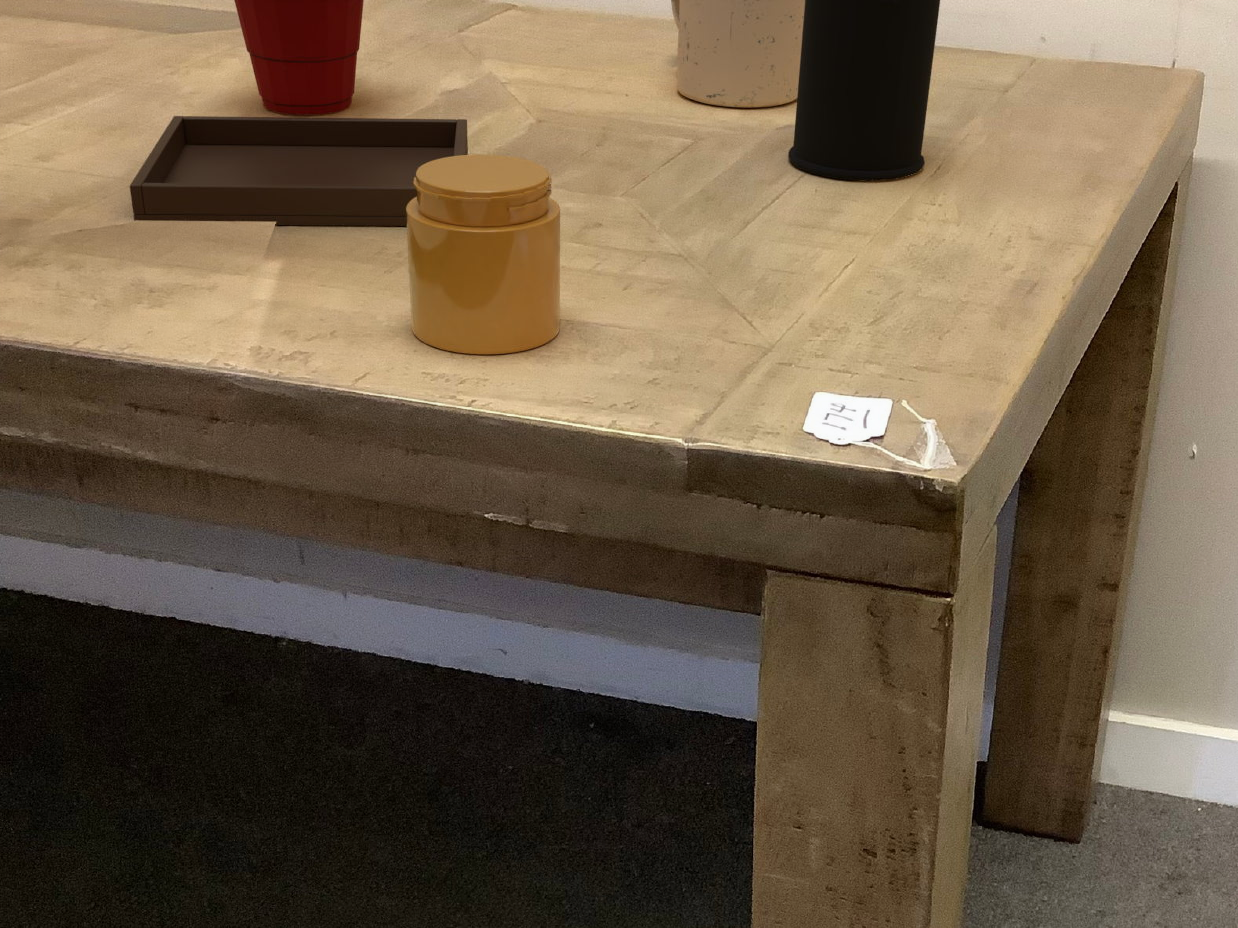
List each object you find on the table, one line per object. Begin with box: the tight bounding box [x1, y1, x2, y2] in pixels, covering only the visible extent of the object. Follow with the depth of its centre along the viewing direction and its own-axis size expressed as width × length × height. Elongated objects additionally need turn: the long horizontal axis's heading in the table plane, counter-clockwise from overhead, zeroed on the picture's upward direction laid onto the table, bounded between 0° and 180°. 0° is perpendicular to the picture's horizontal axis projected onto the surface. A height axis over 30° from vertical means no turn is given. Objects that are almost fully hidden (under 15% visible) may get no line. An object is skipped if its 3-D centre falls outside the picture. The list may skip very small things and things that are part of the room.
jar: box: [406, 153, 561, 355], centre depth 75 cm, size 7×7×7 cm
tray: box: [129, 115, 469, 227], centre depth 94 cm, size 17×14×2 cm
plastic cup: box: [233, 0, 364, 116], centre depth 106 cm, size 11×11×12 cm
